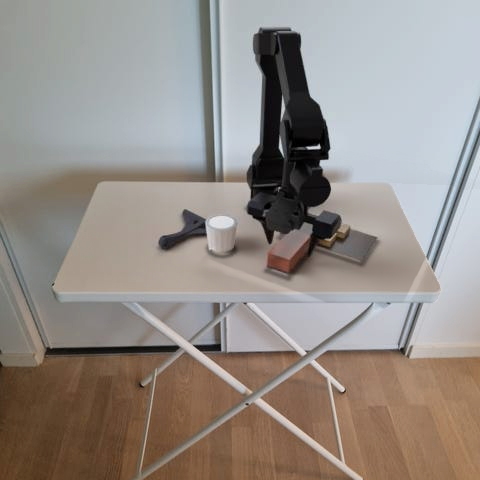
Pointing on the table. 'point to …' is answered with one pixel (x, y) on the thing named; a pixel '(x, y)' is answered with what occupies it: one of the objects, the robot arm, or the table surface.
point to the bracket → (185, 229)
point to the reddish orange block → (288, 251)
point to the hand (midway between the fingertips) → (289, 249)
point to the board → (346, 242)
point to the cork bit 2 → (343, 230)
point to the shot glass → (221, 232)
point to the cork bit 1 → (328, 241)
